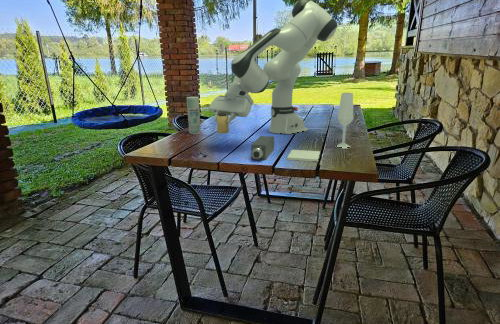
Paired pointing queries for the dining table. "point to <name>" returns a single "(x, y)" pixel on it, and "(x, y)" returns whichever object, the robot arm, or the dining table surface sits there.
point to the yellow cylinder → (222, 123)
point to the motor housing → (262, 147)
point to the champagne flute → (345, 114)
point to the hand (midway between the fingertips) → (221, 121)
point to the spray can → (193, 115)
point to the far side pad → (303, 155)
